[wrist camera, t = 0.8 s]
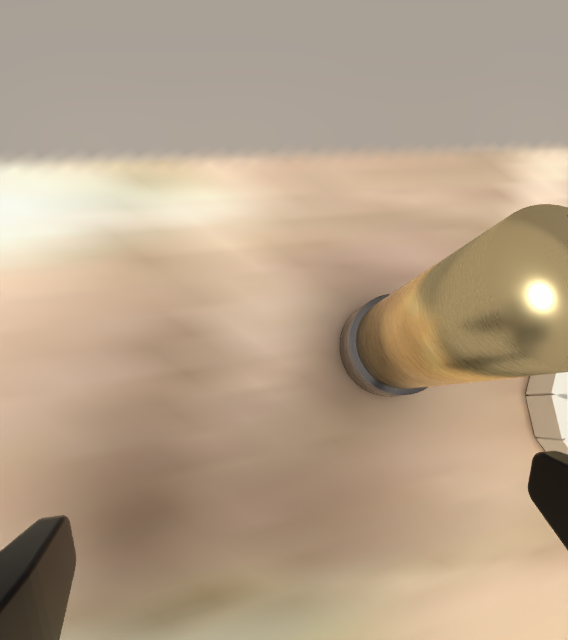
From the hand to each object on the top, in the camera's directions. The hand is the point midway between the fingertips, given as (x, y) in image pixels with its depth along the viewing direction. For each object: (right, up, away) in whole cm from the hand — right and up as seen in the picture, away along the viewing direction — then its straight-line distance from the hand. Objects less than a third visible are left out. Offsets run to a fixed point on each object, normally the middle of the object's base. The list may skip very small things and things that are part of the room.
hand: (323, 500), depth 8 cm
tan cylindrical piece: (+5, +2, +17) cm, 18 cm away
